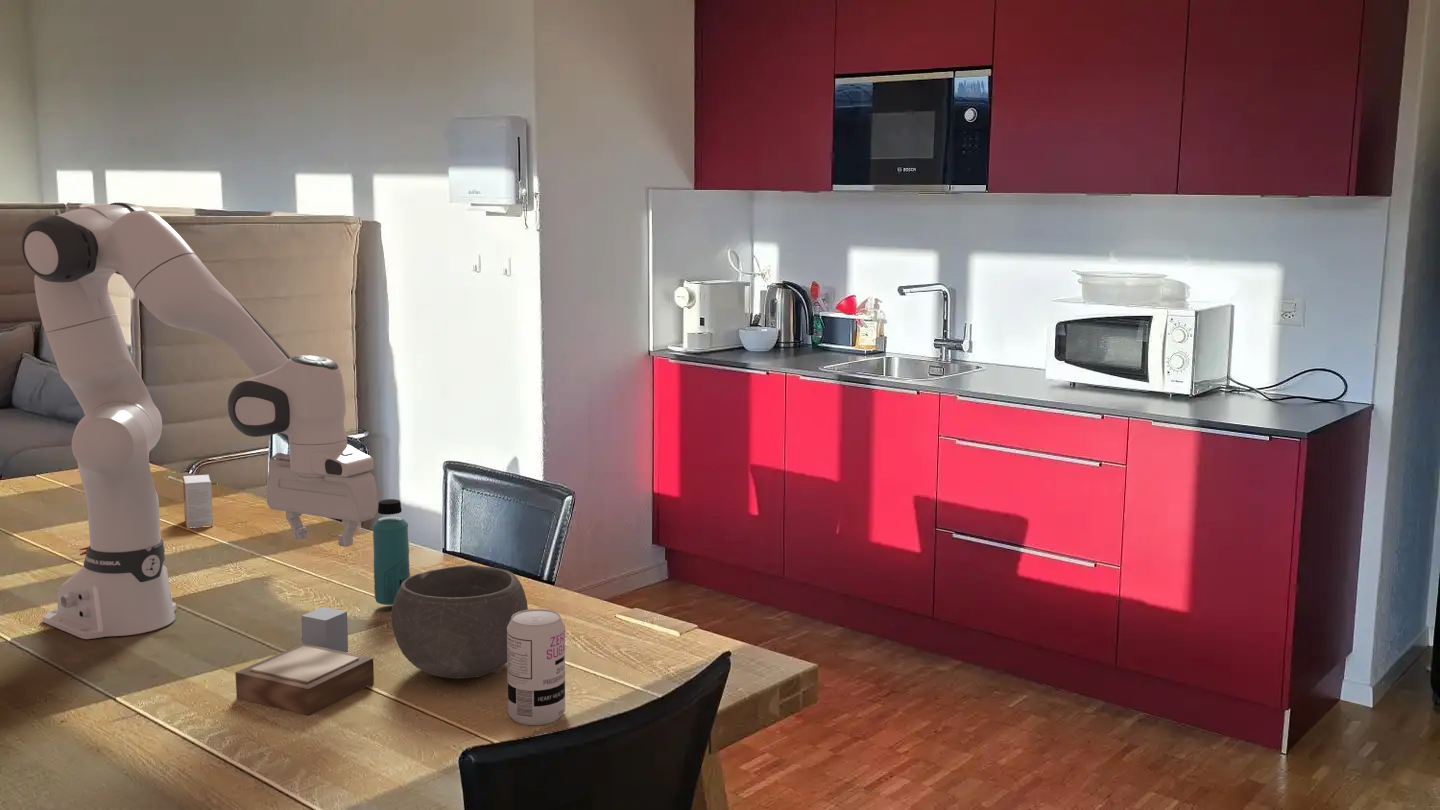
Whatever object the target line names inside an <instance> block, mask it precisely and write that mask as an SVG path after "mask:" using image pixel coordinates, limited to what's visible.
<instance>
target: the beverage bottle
mask: <svg viewBox="0 0 1440 810" xmlns="http://www.w3.org/2000/svg"><path fill="white" fill-rule="evenodd" d="M402 510H403V509H402V503H401V500H400V499H395V498H389V499H388V498H387V499H382V500H379V501H378V510H377V513H378V514H380V515H391V516H382V517H380V518H378V519H377V520H376V521H375V522H374V523H373V524H372V536H373V538H372V539H373V540H372V541H373V544H372V545H373V546H372V547H373V574H372V575H373V576H372V577H373V579H374V580H373V583H374V584H373V590H374V594H373V595H374V596H373V598H374V600H375V601H376V603H377V604H380V605H385V606H387V605H388V606H390V605H392V606H393V603H394V600H395V597H396V594H397V592H398V590H399V588H400V586H401V584H402V582H403V581H404V580H405V579H407V578H409V577H411V573H410V572H411V569H410V567H411V566H410V553H411V552H410V541H409V529H408V528H409V523H408V521H406V520H405V519H404V518H402V517H401V516H394V515H397V514H400V513H402ZM392 515H393V516H392Z"/></svg>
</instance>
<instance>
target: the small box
mask: <svg viewBox="0 0 1440 810" xmlns="http://www.w3.org/2000/svg"><path fill="white" fill-rule="evenodd" d="M210 478H211V477H210V474H198V475H183V476H182V483H183V486H182V487H183V505H184V506H183V508H184V509H183V510H184V511H183V512H184V522H185V521H186V522H185V525H186V526H187V527H186V529H187V528H190V527H192V528H193V527H203V526H213V527H214V519H213V518H214V516H213V495H212V493H213V491H212V489H213V488H212V481H211V479H210Z"/></svg>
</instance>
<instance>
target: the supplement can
mask: <svg viewBox="0 0 1440 810" xmlns="http://www.w3.org/2000/svg"><path fill="white" fill-rule="evenodd" d="M506 665H507V670H506V671H507V713H508V716H509V717H510V718H512V721H515V723H517V724H521V725H525V726H543V725H549V724H552V723H554V722H557V721H558V720H560V719H561V716H563V715H564V714H565V712H566V626H565V624H564V622H563V620H562V617H561V614H560V613H559V612H557V611H556V610H555V611H554V610H552V609H545V608H533V609H528V610H524V611H520V612H517V613H515V614H513V616H512V617H511V621H510V623H509V625H508V626H507V663H506Z"/></svg>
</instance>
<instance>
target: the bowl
mask: <svg viewBox="0 0 1440 810" xmlns="http://www.w3.org/2000/svg"><path fill="white" fill-rule="evenodd" d="M524 610H529V609H528V600H527V597H526V593H525V589H524V587H523V585H522V583H521V581H520V579H519V578H518V577H517V576H516V575H515V574H514V573H513V572H512V571H510V570H507V569H502V568H497V567H491V566H480V565H474V564H465V565H457V566H451V567H443V568H439V569H433V570H428V571H424V572H421V573H417V574H413V575H410V577H409V578H407V579H405V580H404V581H403V582H402V584H401V586H400V588H399V590H398V592H397V594H396V597H395V600H394V603H393V605H392V607H391V613H390V620H391V629H392V632H393V635H394V638H395V641H396V644H397V646H398V647H399V649H400V652H401V653H402V655H403V656H404V657H405V658H406V659H407V661H408V662H410V663H411V665H413V666H415V667H416V668H417V669H419V670H420V671H422V672H424V673H426V674H429V675H433V676H436V677H440V678H445V679H446V678H447V679H448V678H449V679H470V678H471V679H473V678H474V679H475V678H479V677H483V676H487V675H488V674H490V673H491V674H492V673H494V672H495V671H497V670H500V668H503V666H506V665H507V626H508V625H509V623H510V621H511V617H512V616H513V614H515V613H517V612H520V611H524Z"/></svg>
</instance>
